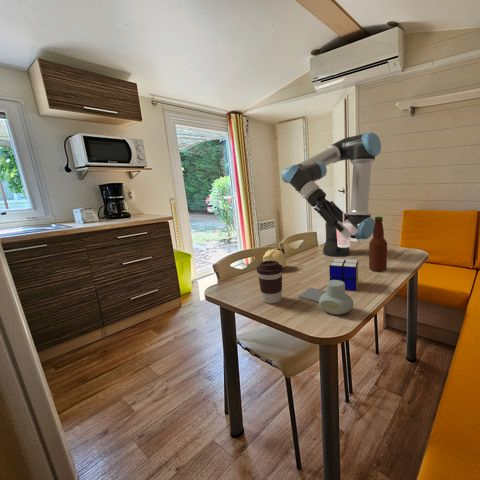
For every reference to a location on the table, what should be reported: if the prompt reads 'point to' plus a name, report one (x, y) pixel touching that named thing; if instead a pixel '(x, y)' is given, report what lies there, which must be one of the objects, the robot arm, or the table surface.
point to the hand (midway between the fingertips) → (352, 234)
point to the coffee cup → (270, 281)
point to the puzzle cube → (345, 272)
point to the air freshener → (336, 298)
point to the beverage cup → (341, 239)
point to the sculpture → (275, 256)
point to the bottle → (378, 248)
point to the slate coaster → (312, 294)
